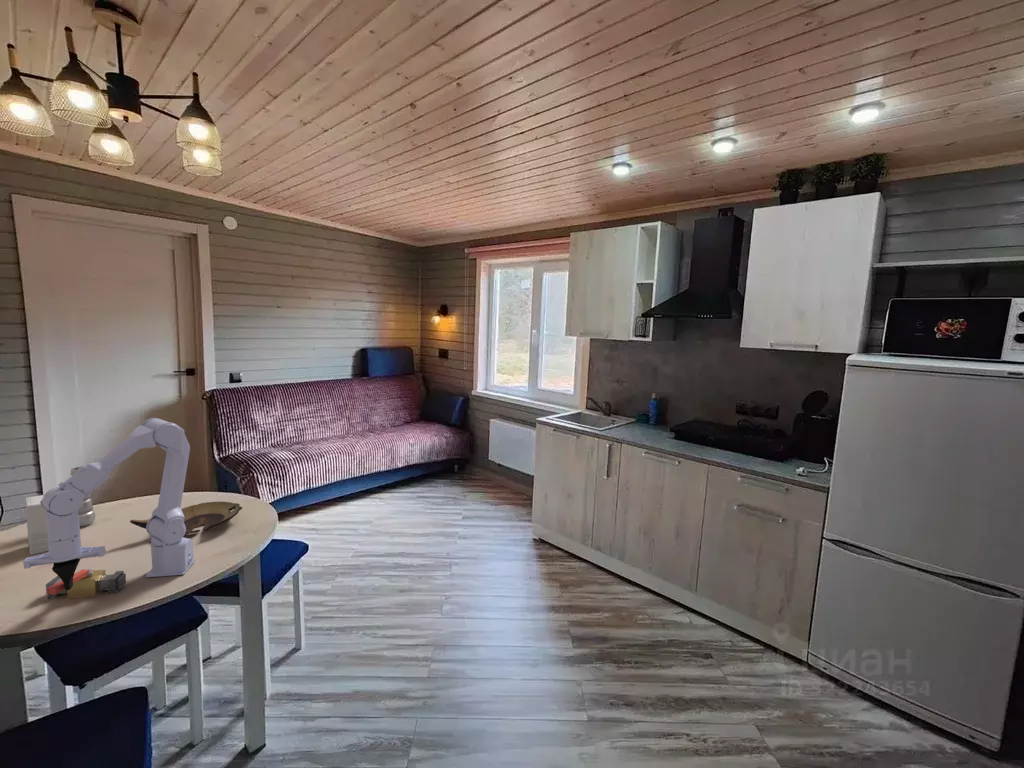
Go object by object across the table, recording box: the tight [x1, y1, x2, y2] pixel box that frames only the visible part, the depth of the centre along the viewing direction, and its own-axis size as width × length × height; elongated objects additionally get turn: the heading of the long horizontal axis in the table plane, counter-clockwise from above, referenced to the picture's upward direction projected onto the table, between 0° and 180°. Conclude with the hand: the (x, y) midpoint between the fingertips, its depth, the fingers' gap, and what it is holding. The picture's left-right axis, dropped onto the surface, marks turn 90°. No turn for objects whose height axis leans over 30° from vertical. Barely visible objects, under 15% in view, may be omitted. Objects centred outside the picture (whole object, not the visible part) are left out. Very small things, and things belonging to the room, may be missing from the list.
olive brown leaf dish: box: [129, 501, 243, 535], centre depth 160 cm, size 22×30×8 cm
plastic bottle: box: [70, 466, 96, 528], centre depth 157 cm, size 6×7×20 cm
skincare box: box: [25, 494, 49, 556], centre depth 142 cm, size 8×7×16 cm
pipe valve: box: [45, 569, 127, 599], centre depth 122 cm, size 16×5×5 cm, turn 105°
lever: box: [47, 568, 93, 594], centre depth 118 cm, size 10×2×2 cm, turn 178°
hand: (68, 588), depth 115 cm, fingers closed, pressing on lever
